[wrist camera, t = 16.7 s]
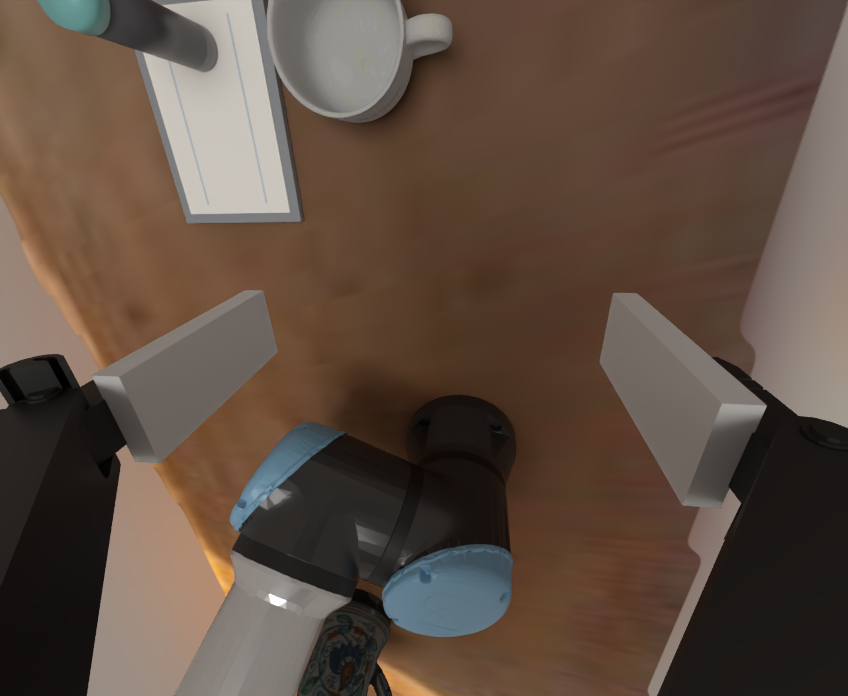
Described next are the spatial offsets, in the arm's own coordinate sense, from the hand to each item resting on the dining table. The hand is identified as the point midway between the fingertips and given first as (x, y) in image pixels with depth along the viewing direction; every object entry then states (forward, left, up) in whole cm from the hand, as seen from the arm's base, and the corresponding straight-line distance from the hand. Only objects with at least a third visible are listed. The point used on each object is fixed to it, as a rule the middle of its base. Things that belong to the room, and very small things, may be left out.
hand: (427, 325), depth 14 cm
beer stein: (-77, +20, -29) cm, 85 cm away
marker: (+16, +25, -28) cm, 40 cm away
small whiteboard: (+10, +25, -29) cm, 39 cm away
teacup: (+14, +8, -29) cm, 33 cm away
